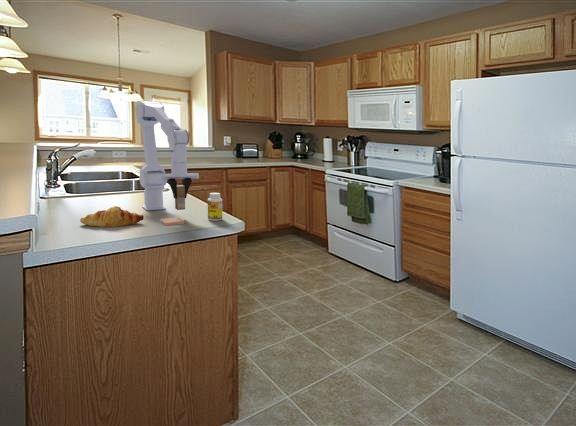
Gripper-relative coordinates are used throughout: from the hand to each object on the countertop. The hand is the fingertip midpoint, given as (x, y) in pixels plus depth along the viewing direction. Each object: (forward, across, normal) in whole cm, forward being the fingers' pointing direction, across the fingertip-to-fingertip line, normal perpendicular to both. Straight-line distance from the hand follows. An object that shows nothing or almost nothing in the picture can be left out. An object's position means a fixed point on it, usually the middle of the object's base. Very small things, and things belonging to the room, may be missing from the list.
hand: (180, 198), depth 157 cm
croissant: (+8, -24, 0) cm, 26 cm away
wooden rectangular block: (+4, 0, 0) cm, 4 cm away
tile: (+8, -5, -2) cm, 9 cm away
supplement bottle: (+8, +11, -8) cm, 16 cm away
